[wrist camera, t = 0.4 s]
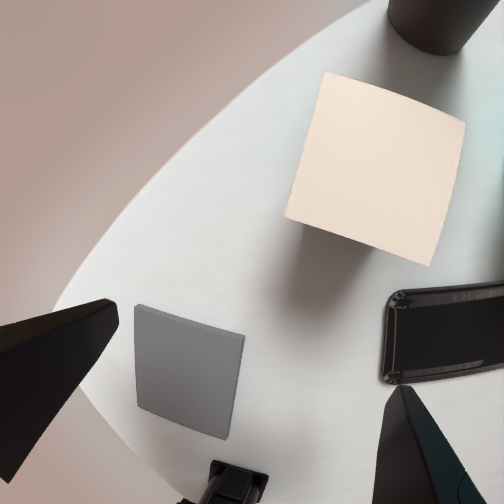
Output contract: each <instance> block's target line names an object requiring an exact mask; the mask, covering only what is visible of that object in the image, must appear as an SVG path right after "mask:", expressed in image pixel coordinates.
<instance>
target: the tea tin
mask: <svg viewBox="0 0 504 504" xmlns="http://www.w3.org/2000/svg"><path fill="white" fill-rule="evenodd" d="M465 125H466V123H465V122H463V121H461V120H459V119H456V118H454V117H452V116H450V115H448V114H446V113H444V112H441V111H439V110H437V109H435V108H432V107H430V106H428V105H425V104H423V103H420V102H418V101H415V100H413V99H410V98H408V97H405V96H402V95H400V94H397V93H394V92H391V91H389V90H386V89H383V88H380V87H377V86H374V85H370V84H367V83H364V82H361V81H357V80H354V79H350V78H347V77H343V76H339V75H336V74H332V73H328V72H324V75H323V79H322V82H321V86H320V90H319V94H318V97H317V101H316V105H315V108H314V112H313V116H312V119H311V123H310V126H309V130H308V134H307V137H306V141H305V144H304V148H303V151H302V155H301V159H300V162H299V166H298V169H297V173H296V176H295V179H294V183H293V186H292V190H291V193H290V197H289V200H288V204H287V207H286V210H285V214H284V217H286V218H289V219H292V220H295V221H299V222H302V223H305V224H308V225H311V226H314V227H317V228H320V229H323V230H326V231H329V232H332V233H335V234H338V235H341V236H344V237H347V238H350V239H353V240H356V241H359V242H362V243H365V244H367V245H370V246H373V247H376V248H379V249H382V250H384V251H387V252H390V253H393V254H396V255H398V256H401V257H404V258H407V259H409V260H412V261H415V262H417V263H420V264H423V265H425V266H428V267H429V266H430V263H431V260H432V257H433V254H434V252H435V249H436V246H437V243H438V240H439V237H440V233H441V230H442V227H443V224H444V220H445V217H446V213H447V210H448V206H449V202H450V199H451V195H452V191H453V187H454V182H455V178H456V174H457V169H458V164H459V160H460V155H461V149H462V144H463V138H464V132H465Z"/></svg>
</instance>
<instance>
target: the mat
mask: <svg viewBox="0 0 504 504" xmlns="http://www.w3.org/2000/svg"><path fill="white" fill-rule="evenodd" d="M244 340H245V335H241V334H237V333H233V332H230V331H226V330H222V329H219V328H215V327H212V326H208V325H205V324H201V323H198V322H194V321H191V320H188V319H185V318H181V317H178V316H175V315H172V314H168V313H165V312H162V311H159V310H156V309H153V308H150V307H147V306H144V305H141V304H138V305H136V306H135V307H134V346H135V373H136V390H137V403H138V407H140V408H142V409H144V410H147V411H149V412H151V413H153V414H156V415H158V416H160V417H163V418H165V419H168V420H170V421H173V422H175V423H178V424H180V425H183V426H185V427H188V428H191V429H193V430H196V431H199V432H202V433H205V434H207V435H210V436H213V437H216V438H219V439H223V440H226V439H227V437H228V434H229V428H230V423H231V417H232V411H233V405H234V399H235V393H236V387H237V382H238V376H239V370H240V364H241V358H242V352H243V346H244Z"/></svg>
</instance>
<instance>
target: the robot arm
mask: <svg viewBox="0 0 504 504" xmlns="http://www.w3.org/2000/svg"><path fill="white" fill-rule="evenodd" d="M118 326H119V317H118V310H117V305H116V303H115V302H114V301H111V300H109V299H106V298H104V299H100V300H97V301H93V302H89V303H86V304H82V305H78V306H75V307H71V308H67V309H64V310H60V311H56V312H53V313H49V314H45V315H41V316H38V317H34V318H30V319H27V320H23V321H19V322H16V323H12V324H8V325H4V326H0V478H2V479H3V480H4V481H5V482H6V483H8V484H9V482H10V481H11V480H12V478H13V477H14V475H15V474H16V472H17V471H18V469H19V468H20V466H21V465H22V463H23V462H24V460H25V459H26V457H27V456H28V454H29V453H30V452H31V450H32V449H33V447H34V446H35V444H36V443H37V441H38V440H39V438H40V437H41V435H42V434H43V432H44V431H45V430H46V428H47V427H48V426H49V424H50V423H51V421H52V420H53V418H54V417H55V416H56V415H57V413H58V412H59V410H60V409H61V408H62V406H63V405H64V404H65V402H66V401H67V400H68V398H69V397H70V396H71V394H72V393H73V392H74V390H75V389H76V388H77V386H78V385H79V384H80V382H81V381H82V380H83V378H84V377H85V376H86V375H87V373H88V372H89V371H90V369H91V368H92V367H93V366H94V364H95V363H96V361H97V360H98V358H99V357H100V355H101V354H102V352H103V351H104V349H105V347H106V346H107V344H108V343H109V341H110V339H111V338H112V336H113V335H114V333H115V332H116V330H117V328H118ZM268 479H269V476H268V475H266V474H262V473H258V472H254V471H250V470H246V469H243V468H239V467H236V466H233V465H229V464H226V463H223V462H220V461H217V460H213V461H212V463H211V467H210V475H209V483H208V486H207V488H206V490H205V492H204V494H203V496H202V498H201V499H200V501H199V503H198V504H256V503H259V502H260V499H261V497H262V494H263V492H264V489H265V487H266V484H267V482H268ZM177 504H196V503H193V502H191V501H188V499H185V498H183V499H182V501H181V502H179V503H178V502H177ZM372 504H487V503H486V501H485V500H484V498H483V497H482V496H481V494H480V493H479V491H478V490H477V488H476V486H475V485H474V483H473V482H472V480H471V478H470V477H469V475H468V473H467V472H466V471H465V468H464V467H463V465H462V463H461V462H460V460H459V458H458V457H457V455H456V454H455V452H454V450H453V449H452V447H451V446H450V444H449V442H448V441H447V439H446V438H445V436H444V435H443V433H442V431H441V430H440V428H439V427H438V425H437V424H436V422H435V421H434V419H433V418H432V416H431V414H430V413H429V411H428V410H427V408H426V407H425V405H424V404H423V402H422V401H421V399H420V398H419V397H418V395H417V394H416V392H415V391H414V389H413V388H412V387H411V386H407V385H398V386H397V387H396V388H395V390H394V391H393V393H392V395H391V396H390V398H389V399H388V401H387V402H386V405H385V408H384V415H383V422H382V428H381V434H380V439H379V445H378V451H377V461H376V472H375V482H374V491H373V499H372Z"/></svg>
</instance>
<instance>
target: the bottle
mask: <svg viewBox="0 0 504 504" xmlns="http://www.w3.org/2000/svg"><path fill="white" fill-rule="evenodd" d="M499 1H500V0H389V6H388V14H389V17H390V20H391V23H392V25H393V26H394V28H395V29H396V31H397V32H398V33H399V34H400V35H401V36H402V37H403V38H404V39H405V40H406V41H407V42H409V43H410V44H412V45H414V46H415V47H417V48H418V49H420V50H423V51H425V52H428V53H431V54H436V55H443V56H444V55H449V54H454V53H456V52H457V51H458V50H460V49H461V48H462V47H463V46H464V45H465V43H466V42H467V41H468V40H469V39H470V37H471V36H472V35H473V34H474V32H475V31H476V30H477V29H478V27H479V26H480V25H481V24H482V22H483V21H484V20H485V19H486V17H487V16H488V15H489V14H490V12H491V11H492V10H493V9H494V7H495V6H496V5H497V4H498V2H499Z"/></svg>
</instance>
